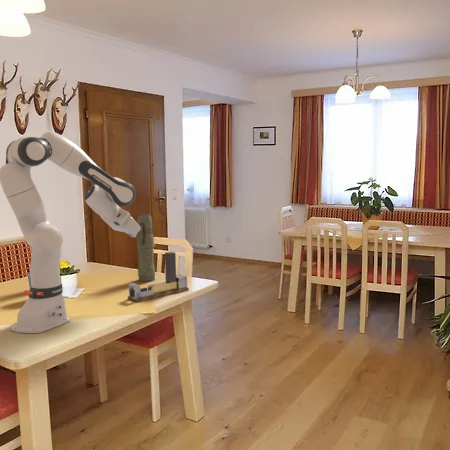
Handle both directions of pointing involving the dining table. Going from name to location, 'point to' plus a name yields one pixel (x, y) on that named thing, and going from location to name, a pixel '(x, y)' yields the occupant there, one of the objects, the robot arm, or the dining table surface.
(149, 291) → the sleeve and socket
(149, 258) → the grey stone statue
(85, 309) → the dining table surface
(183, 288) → the rail board
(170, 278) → the blocks on base plate
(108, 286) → the dining table surface
